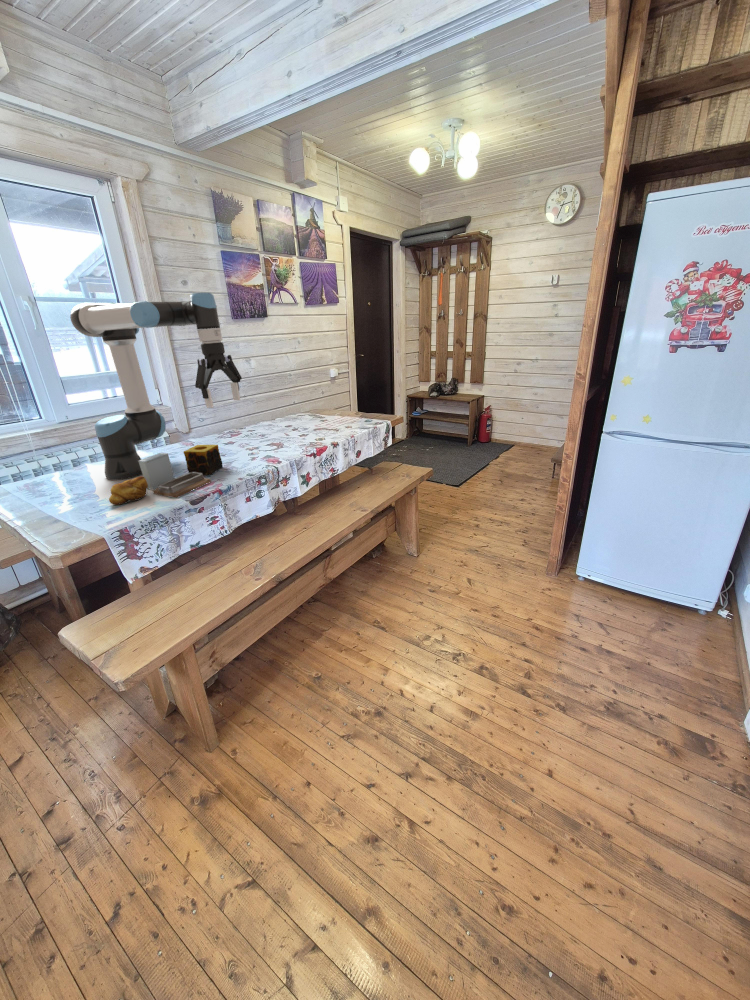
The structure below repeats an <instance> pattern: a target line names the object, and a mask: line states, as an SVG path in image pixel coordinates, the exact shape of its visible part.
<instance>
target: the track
mask: <svg viewBox="0 0 750 1000" xmlns="http://www.w3.org/2000/svg"><path fill="white" fill-rule="evenodd" d="M174 478H175V479H172V480H170V481H168V482H165V483H163V484H160V485H158V486H159V487H158V488H155V489H152V493H153V495H159V496H162V497H163V496H164V497H170V498H175V499H179V497H182V496H184V495H186V494H188V492H189V493H191V492H192V491H191V490H193V489H195V490H196V488H197V489H199V488H201V487H203V486H202V485H204V484H206V483H208V484H210V483H212V480H211V478H208V477H207V478H206V477H204V475H203V473H198V472H192V473H190V472H189V473H188V472H187V473H185V474H182V475H180V476H178V477H174ZM209 482H210V483H209ZM206 485H207V484H206ZM200 486H201V487H200ZM204 486H205V485H204ZM198 487H199V488H198ZM190 491H191V492H190ZM193 491H194V490H193Z"/></svg>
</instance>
